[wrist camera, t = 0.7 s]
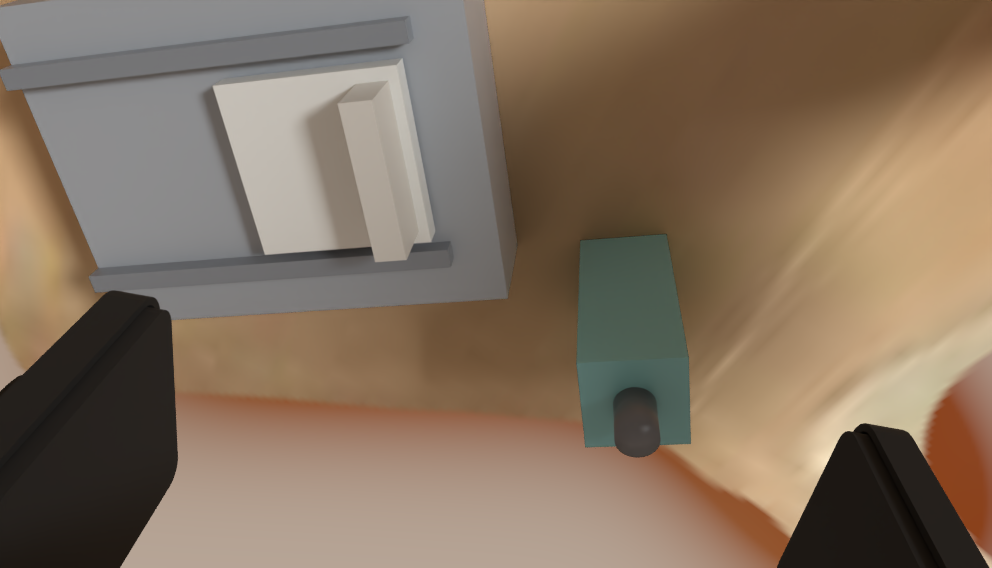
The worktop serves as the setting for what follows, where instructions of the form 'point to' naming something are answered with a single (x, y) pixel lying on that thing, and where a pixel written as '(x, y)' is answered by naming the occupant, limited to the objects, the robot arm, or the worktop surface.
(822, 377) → the worktop surface
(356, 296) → the grey flat box
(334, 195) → the shutter
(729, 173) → the worktop surface
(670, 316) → the teal rectangular bottle
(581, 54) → the worktop surface
